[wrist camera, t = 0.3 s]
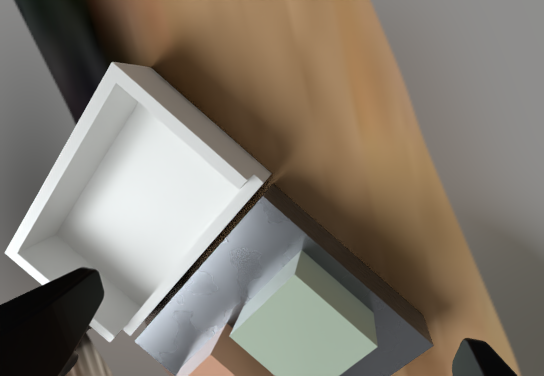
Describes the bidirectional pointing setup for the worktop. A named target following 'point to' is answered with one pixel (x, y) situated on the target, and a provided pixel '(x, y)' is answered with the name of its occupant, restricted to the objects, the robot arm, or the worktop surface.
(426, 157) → the worktop surface
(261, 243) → the steel plate
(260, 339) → the sage tile
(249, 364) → the terracotta tile
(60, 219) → the box
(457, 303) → the worktop surface
